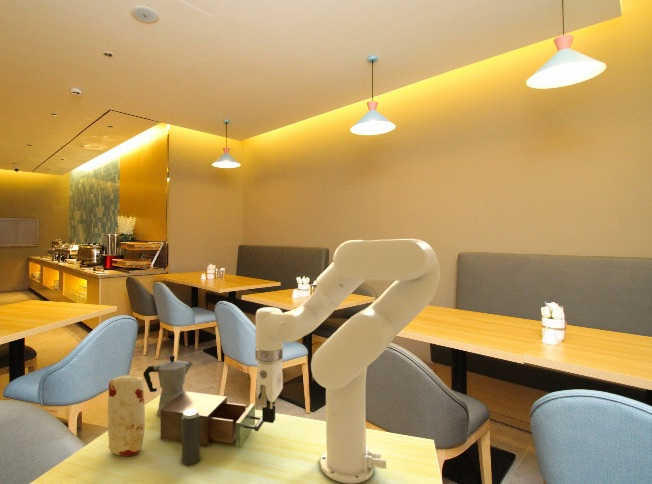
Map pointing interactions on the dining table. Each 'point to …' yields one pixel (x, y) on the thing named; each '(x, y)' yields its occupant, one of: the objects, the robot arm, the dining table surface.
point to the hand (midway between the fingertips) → (268, 420)
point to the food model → (126, 415)
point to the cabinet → (185, 401)
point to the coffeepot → (168, 379)
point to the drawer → (233, 423)
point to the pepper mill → (190, 437)
